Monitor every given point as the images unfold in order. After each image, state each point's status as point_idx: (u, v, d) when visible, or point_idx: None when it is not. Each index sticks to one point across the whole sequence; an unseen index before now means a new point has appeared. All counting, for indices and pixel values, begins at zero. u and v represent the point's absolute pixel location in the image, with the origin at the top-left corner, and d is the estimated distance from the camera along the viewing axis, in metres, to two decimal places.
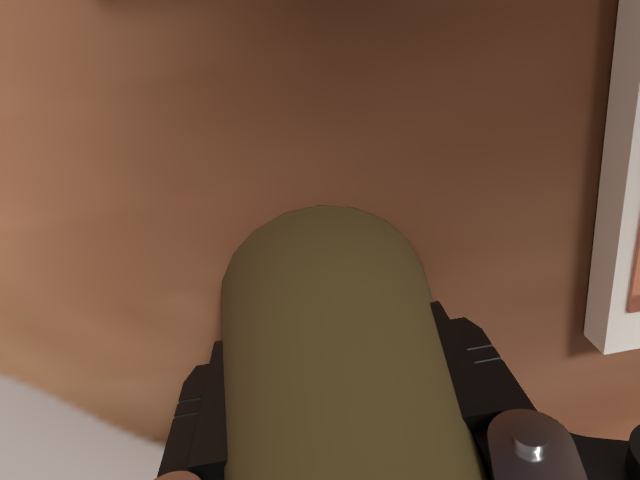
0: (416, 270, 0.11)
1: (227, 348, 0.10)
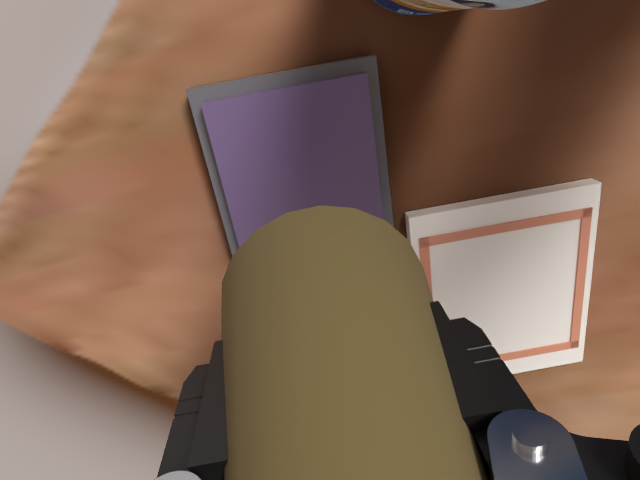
0: (416, 270, 0.11)
1: (227, 348, 0.10)
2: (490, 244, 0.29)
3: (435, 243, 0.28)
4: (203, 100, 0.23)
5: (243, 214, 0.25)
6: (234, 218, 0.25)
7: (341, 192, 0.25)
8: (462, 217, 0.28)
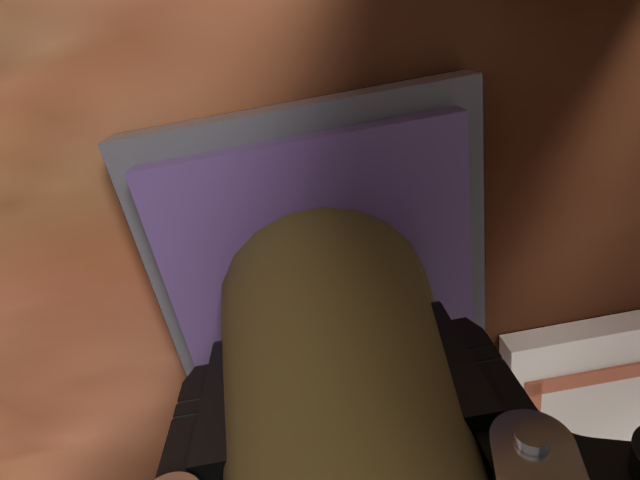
0: (418, 273, 0.11)
1: (227, 352, 0.10)
2: None
3: (553, 389, 0.16)
4: (134, 163, 0.12)
5: None
6: None
7: None
8: (603, 349, 0.16)
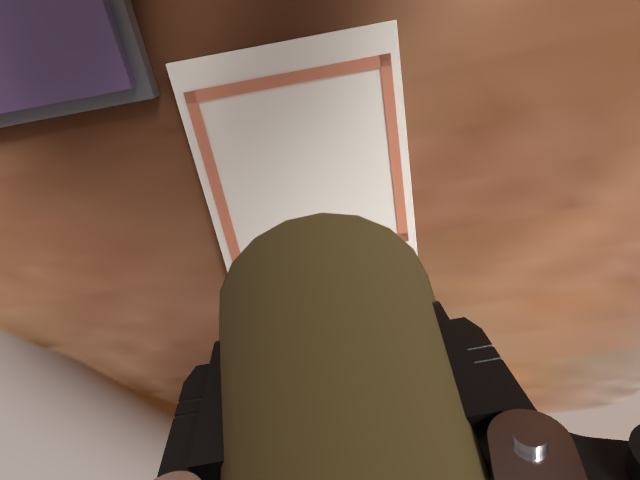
0: (422, 281, 0.11)
1: (225, 364, 0.09)
2: (274, 102, 0.24)
3: (204, 98, 0.24)
4: None
5: None
6: None
7: (58, 18, 0.21)
8: (232, 64, 0.23)
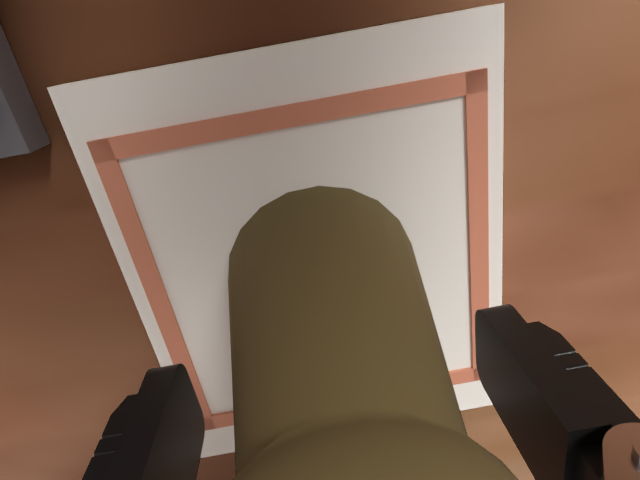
0: (404, 244, 0.12)
1: (236, 307, 0.11)
2: (263, 158, 0.13)
3: (129, 152, 0.12)
4: None
5: None
6: None
7: None
8: (180, 88, 0.12)
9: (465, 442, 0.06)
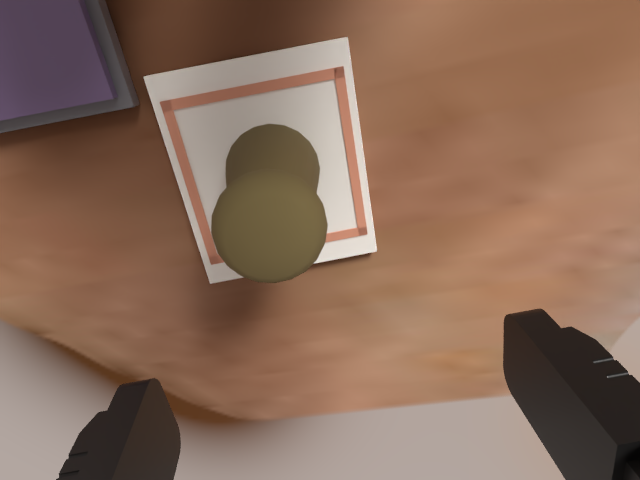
0: (307, 148, 0.27)
1: (228, 171, 0.25)
2: (241, 109, 0.27)
3: (178, 106, 0.27)
4: None
5: None
6: None
7: (48, 37, 0.24)
8: (202, 76, 0.26)
9: None
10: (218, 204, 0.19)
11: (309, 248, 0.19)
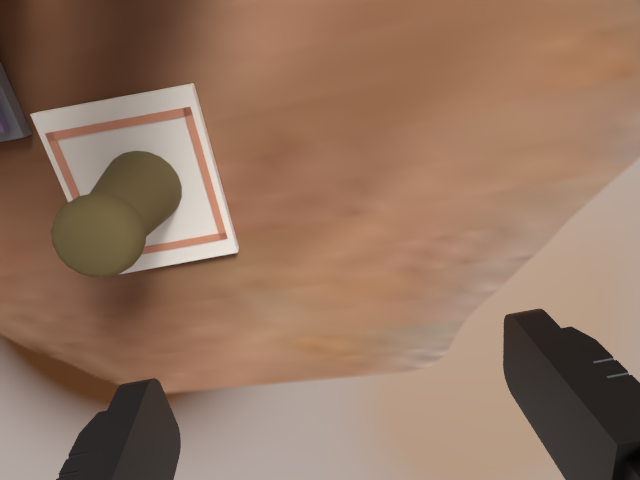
0: (163, 171, 0.34)
1: None
2: (112, 139, 0.34)
3: (60, 137, 0.34)
4: None
5: None
6: None
7: None
8: (77, 114, 0.33)
9: (119, 197, 0.27)
10: None
11: (122, 252, 0.26)
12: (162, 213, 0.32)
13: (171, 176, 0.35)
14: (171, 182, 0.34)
